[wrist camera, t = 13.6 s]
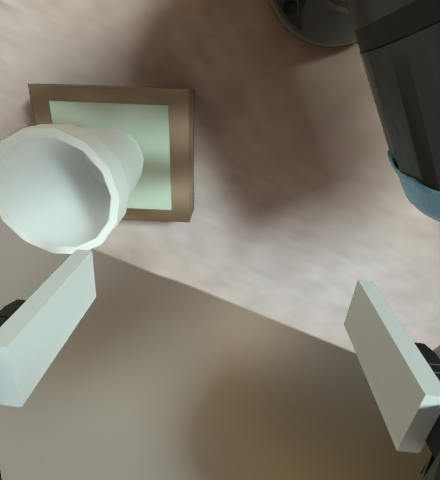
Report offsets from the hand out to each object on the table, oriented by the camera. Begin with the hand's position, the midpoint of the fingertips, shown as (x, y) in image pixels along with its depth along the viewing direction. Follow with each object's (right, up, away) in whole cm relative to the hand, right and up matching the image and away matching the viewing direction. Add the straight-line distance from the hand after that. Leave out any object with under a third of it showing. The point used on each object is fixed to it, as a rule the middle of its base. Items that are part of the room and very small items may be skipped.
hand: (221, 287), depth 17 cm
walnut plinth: (-11, +13, +23) cm, 29 cm away
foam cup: (-11, +11, +19) cm, 25 cm away
